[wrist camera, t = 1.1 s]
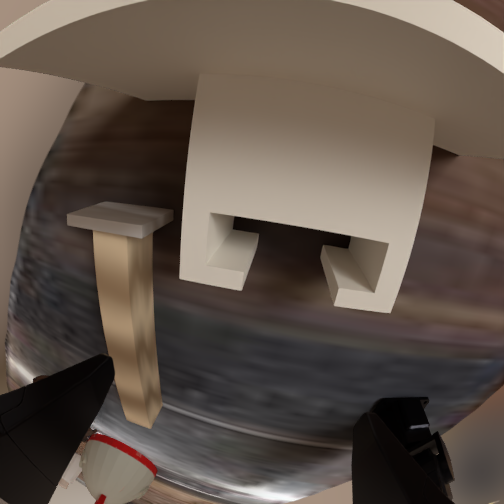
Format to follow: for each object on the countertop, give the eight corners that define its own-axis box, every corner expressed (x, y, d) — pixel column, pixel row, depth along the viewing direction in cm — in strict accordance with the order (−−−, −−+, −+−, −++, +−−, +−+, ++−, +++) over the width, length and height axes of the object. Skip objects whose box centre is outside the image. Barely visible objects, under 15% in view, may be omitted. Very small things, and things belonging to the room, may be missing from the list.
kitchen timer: (88, 445, 38) (58, 494, 24) (94, 424, 34) (55, 487, 19) (147, 479, 39) (124, 531, 25) (166, 465, 35) (140, 533, 21)
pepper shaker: (66, 448, 43) (48, 477, 33) (77, 452, 42) (59, 482, 32) (80, 461, 45) (63, 489, 34) (91, 465, 43) (75, 494, 33)
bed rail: (176, 408, 28) (162, 440, 23) (127, 392, 28) (110, 420, 24) (174, 209, 20) (142, 225, 15) (106, 201, 21) (66, 214, 16)
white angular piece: (431, 276, 19) (530, 394, 6) (136, 227, 21) (-4, 310, 8) (461, 137, 15) (606, 145, 2) (149, 82, 17) (-1, 32, 4)
